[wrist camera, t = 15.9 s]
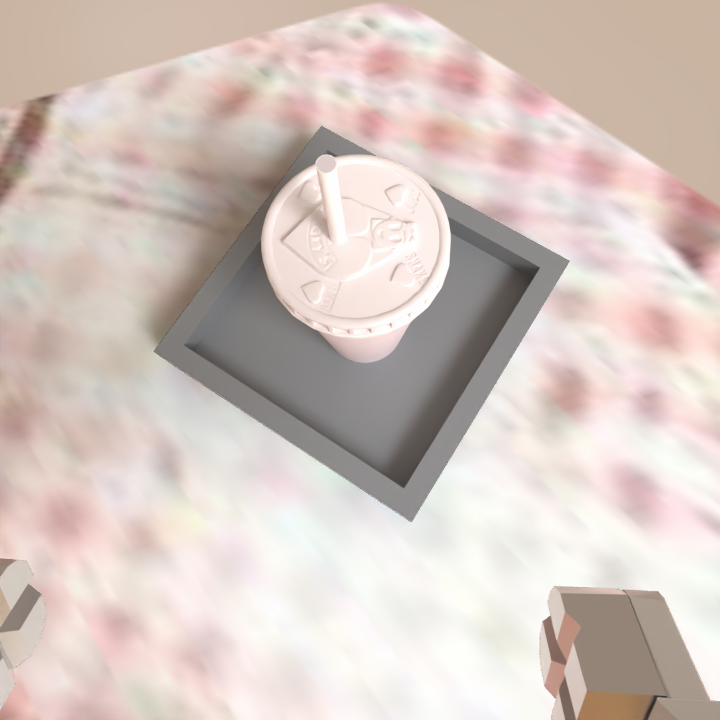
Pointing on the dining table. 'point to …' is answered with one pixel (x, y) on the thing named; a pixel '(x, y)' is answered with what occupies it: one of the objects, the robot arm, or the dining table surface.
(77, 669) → the dining table surface
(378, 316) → the smoothie
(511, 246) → the tray
